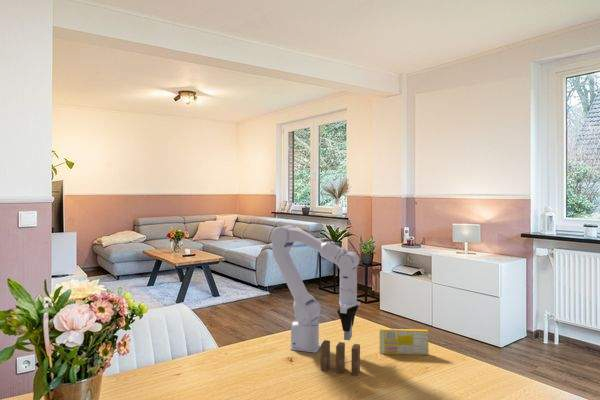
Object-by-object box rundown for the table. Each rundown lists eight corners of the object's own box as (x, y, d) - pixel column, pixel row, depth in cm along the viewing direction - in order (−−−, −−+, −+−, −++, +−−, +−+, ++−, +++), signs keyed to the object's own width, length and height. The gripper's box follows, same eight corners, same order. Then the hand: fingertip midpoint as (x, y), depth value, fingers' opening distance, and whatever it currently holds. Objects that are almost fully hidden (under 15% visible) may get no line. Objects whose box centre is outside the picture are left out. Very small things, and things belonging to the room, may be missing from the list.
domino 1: (320, 370, 127) (321, 344, 127) (324, 365, 131) (324, 340, 130) (326, 371, 126) (326, 345, 126) (329, 365, 130) (330, 340, 130)
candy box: (427, 353, 141) (427, 329, 140) (428, 355, 138) (428, 331, 138) (379, 351, 142) (379, 327, 142) (379, 353, 140) (379, 329, 140)
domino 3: (344, 339, 137) (344, 315, 136) (346, 335, 140) (346, 312, 140) (349, 340, 136) (349, 316, 136) (351, 336, 140) (352, 312, 140)
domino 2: (335, 372, 125) (336, 346, 125) (339, 367, 129) (339, 341, 129) (341, 373, 125) (341, 347, 125) (344, 368, 128) (344, 342, 128)
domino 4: (351, 374, 124) (351, 348, 124) (354, 369, 128) (354, 343, 127) (357, 375, 123) (357, 349, 123) (359, 370, 127) (360, 344, 127)
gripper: (355, 294, 130) (355, 337, 130) (363, 284, 143) (363, 323, 144) (334, 292, 132) (333, 334, 132) (344, 283, 146) (343, 321, 146)
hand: (347, 328), depth 138 cm, fingers closed on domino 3, 4 cm apart
